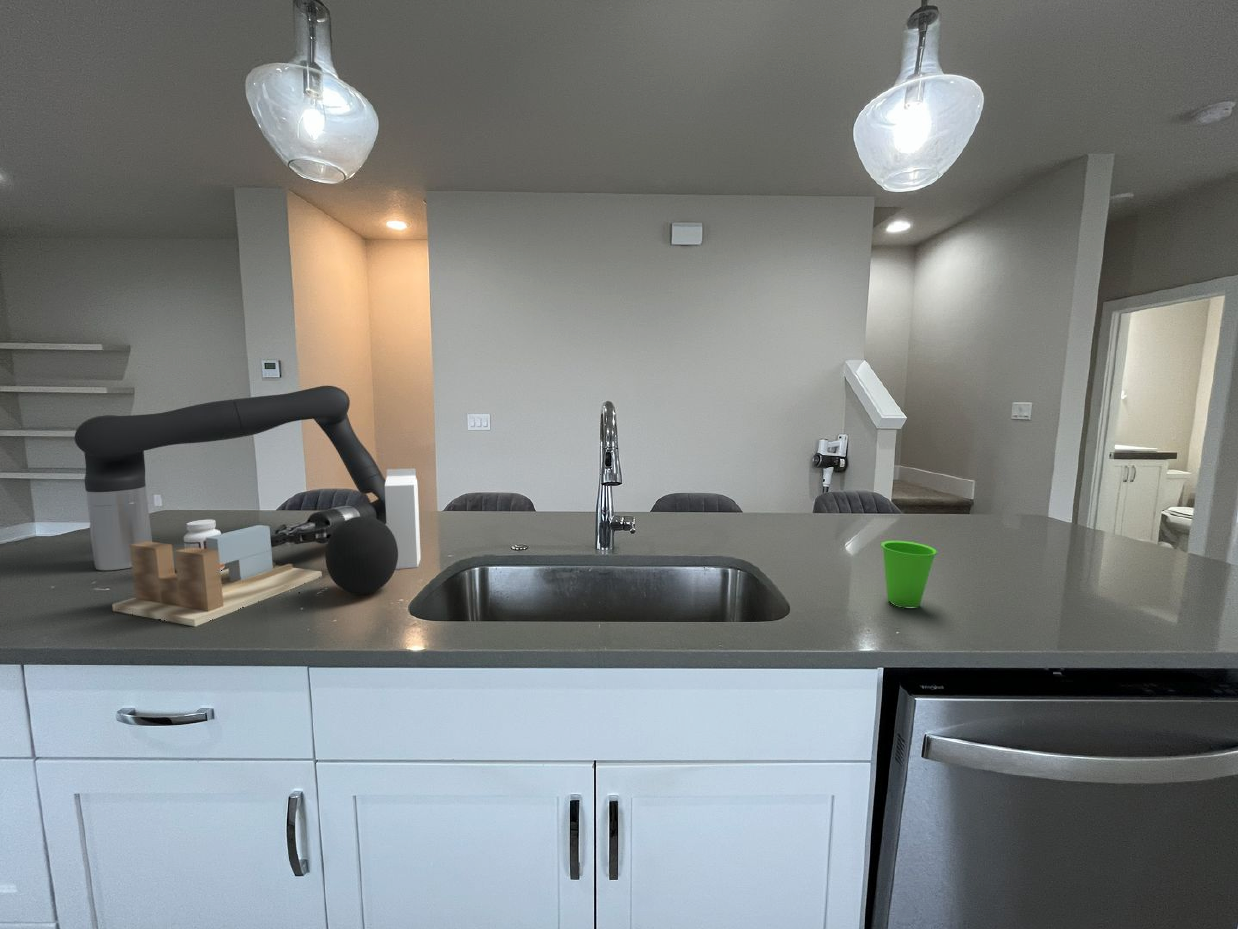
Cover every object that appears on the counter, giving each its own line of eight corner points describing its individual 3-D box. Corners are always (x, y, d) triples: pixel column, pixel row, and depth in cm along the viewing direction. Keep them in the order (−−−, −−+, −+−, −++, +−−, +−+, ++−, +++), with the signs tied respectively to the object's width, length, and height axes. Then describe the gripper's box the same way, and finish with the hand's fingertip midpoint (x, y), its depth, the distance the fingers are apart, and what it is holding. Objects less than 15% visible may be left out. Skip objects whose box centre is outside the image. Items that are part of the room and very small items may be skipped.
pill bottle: (225, 565, 109) (220, 517, 107) (225, 572, 104) (220, 522, 103) (188, 570, 105) (182, 521, 103) (186, 579, 100) (181, 527, 99)
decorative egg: (365, 609, 86) (360, 527, 85) (312, 600, 90) (306, 521, 88) (413, 584, 98) (410, 512, 96) (364, 578, 102) (360, 508, 100)
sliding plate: (210, 588, 92) (205, 537, 91) (262, 571, 101) (258, 525, 100) (222, 590, 91) (217, 539, 90) (273, 572, 101) (269, 526, 99)
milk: (417, 568, 108) (413, 470, 106) (388, 570, 107) (383, 471, 104) (420, 559, 114) (417, 466, 111) (392, 561, 113) (388, 467, 110)
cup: (924, 598, 94) (929, 543, 93) (938, 617, 86) (943, 557, 84) (872, 591, 97) (877, 538, 96) (881, 609, 89) (885, 551, 87)
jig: (113, 610, 85) (105, 548, 83) (250, 567, 108) (246, 517, 106) (195, 626, 79) (188, 560, 78) (321, 576, 102) (318, 525, 101)
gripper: (312, 506, 118) (239, 522, 102) (356, 510, 115) (288, 528, 98) (314, 536, 119) (242, 557, 103) (358, 541, 115) (291, 563, 99)
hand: (265, 543), depth 100 cm, fingers closed
